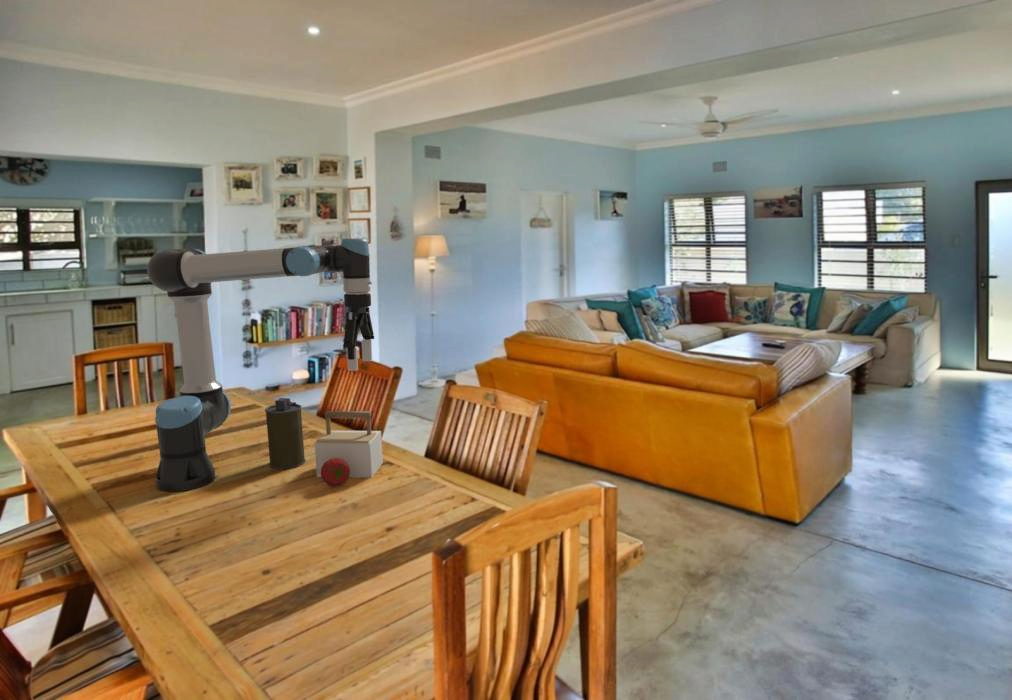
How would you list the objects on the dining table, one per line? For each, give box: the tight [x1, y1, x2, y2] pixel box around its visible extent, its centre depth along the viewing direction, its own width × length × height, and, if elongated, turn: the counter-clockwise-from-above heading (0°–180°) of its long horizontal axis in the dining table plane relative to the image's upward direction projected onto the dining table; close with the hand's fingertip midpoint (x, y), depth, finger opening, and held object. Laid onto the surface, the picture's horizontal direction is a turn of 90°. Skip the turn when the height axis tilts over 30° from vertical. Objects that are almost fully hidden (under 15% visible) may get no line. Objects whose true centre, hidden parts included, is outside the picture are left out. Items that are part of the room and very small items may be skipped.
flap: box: [315, 410, 376, 443], centre depth 191 cm, size 15×8×7 cm, turn 85°
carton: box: [314, 430, 384, 478], centre depth 195 cm, size 16×12×10 cm
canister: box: [264, 397, 306, 470], centre depth 200 cm, size 11×10×20 cm
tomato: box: [321, 458, 350, 488], centre depth 183 cm, size 8×8×8 cm
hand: (360, 365), depth 195 cm, fingers open, 13 cm apart
